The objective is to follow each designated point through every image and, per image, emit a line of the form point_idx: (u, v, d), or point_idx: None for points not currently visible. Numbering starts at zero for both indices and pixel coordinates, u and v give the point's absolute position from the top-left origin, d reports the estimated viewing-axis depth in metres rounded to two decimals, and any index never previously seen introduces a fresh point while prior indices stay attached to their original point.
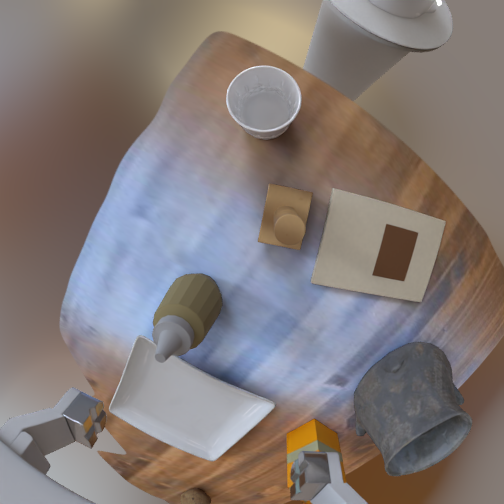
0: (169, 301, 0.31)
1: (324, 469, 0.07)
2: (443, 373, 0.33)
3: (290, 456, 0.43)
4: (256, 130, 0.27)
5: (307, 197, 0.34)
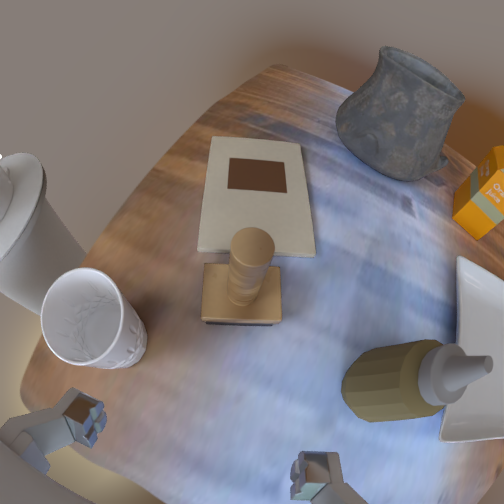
0: (398, 403, 0.16)
1: (324, 469, 0.07)
2: (357, 94, 0.37)
3: (496, 219, 0.34)
4: (121, 321, 0.18)
5: (211, 267, 0.27)
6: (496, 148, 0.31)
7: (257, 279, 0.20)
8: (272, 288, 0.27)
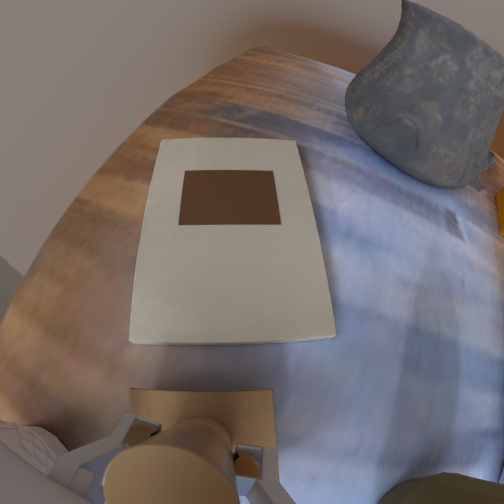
0: None
1: (256, 464, 0.07)
2: (375, 64, 0.22)
3: None
4: None
5: (141, 397, 0.12)
6: None
7: None
8: (259, 433, 0.12)
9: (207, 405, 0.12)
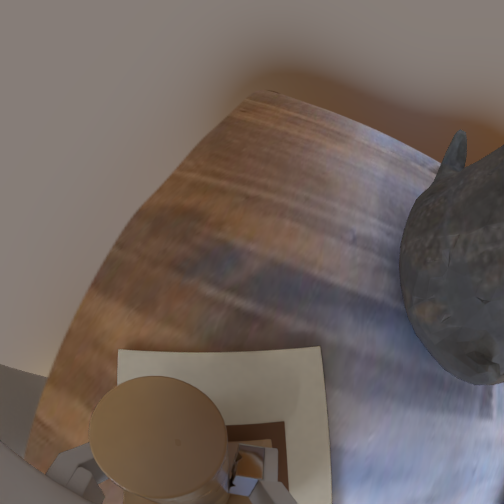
0: None
1: (258, 464, 0.07)
2: (469, 222, 0.13)
3: None
4: None
5: None
6: None
7: None
8: None
9: None
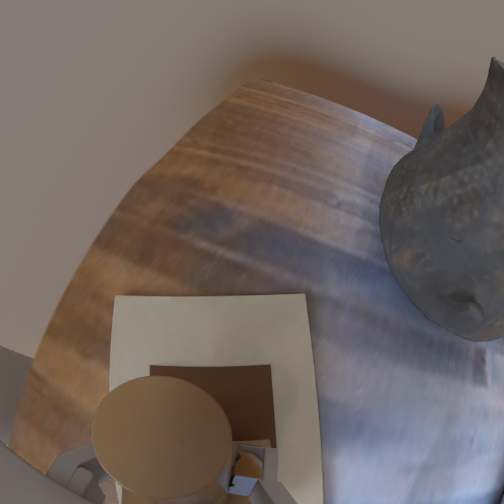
0: None
1: (257, 464, 0.07)
2: (438, 172, 0.15)
3: None
4: None
5: None
6: None
7: None
8: None
9: None
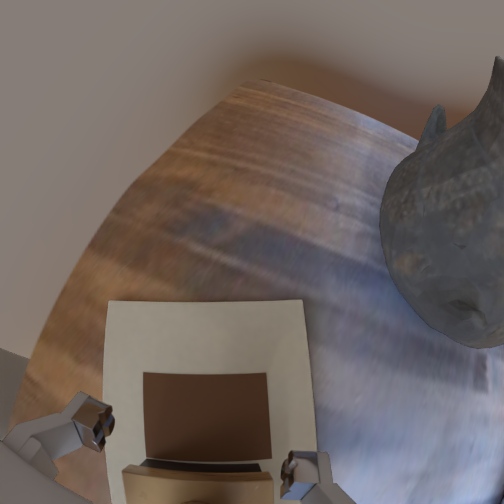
0: None
1: (313, 469, 0.07)
2: (441, 175, 0.14)
3: None
4: None
5: (133, 481, 0.09)
6: None
7: None
8: None
9: (203, 492, 0.09)
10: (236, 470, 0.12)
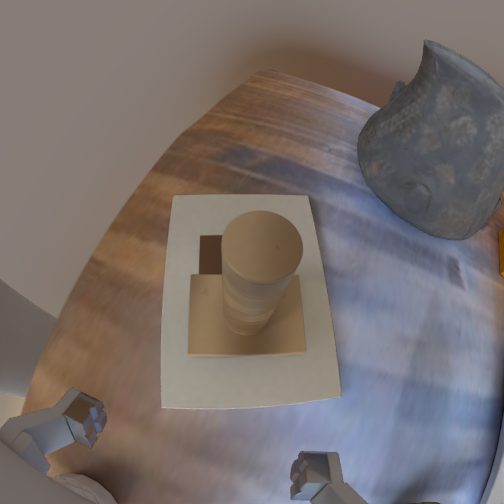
0: None
1: (324, 469, 0.07)
2: (391, 114, 0.24)
3: None
4: None
5: (200, 280, 0.19)
6: None
7: (272, 301, 0.12)
8: (290, 306, 0.18)
9: None
10: None
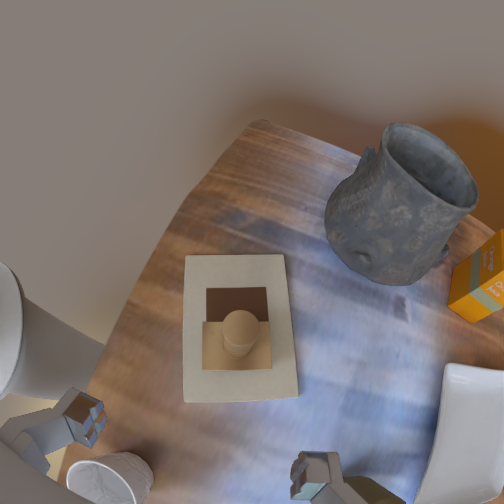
0: None
1: (324, 469, 0.07)
2: (350, 192, 0.35)
3: (494, 308, 0.32)
4: (135, 502, 0.16)
5: (208, 325, 0.30)
6: None
7: (247, 348, 0.23)
8: (263, 341, 0.30)
9: None
10: None
